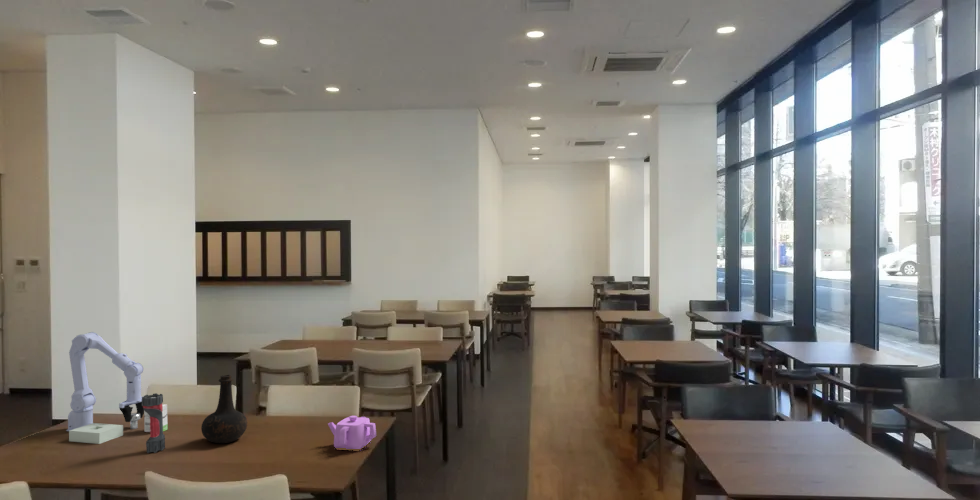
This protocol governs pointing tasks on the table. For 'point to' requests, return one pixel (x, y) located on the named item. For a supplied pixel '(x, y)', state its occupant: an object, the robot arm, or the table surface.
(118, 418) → the table surface
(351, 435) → the teakettle
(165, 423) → the ink box
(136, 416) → the steel pin
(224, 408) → the glass bottle
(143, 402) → the flashlight
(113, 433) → the pin block
